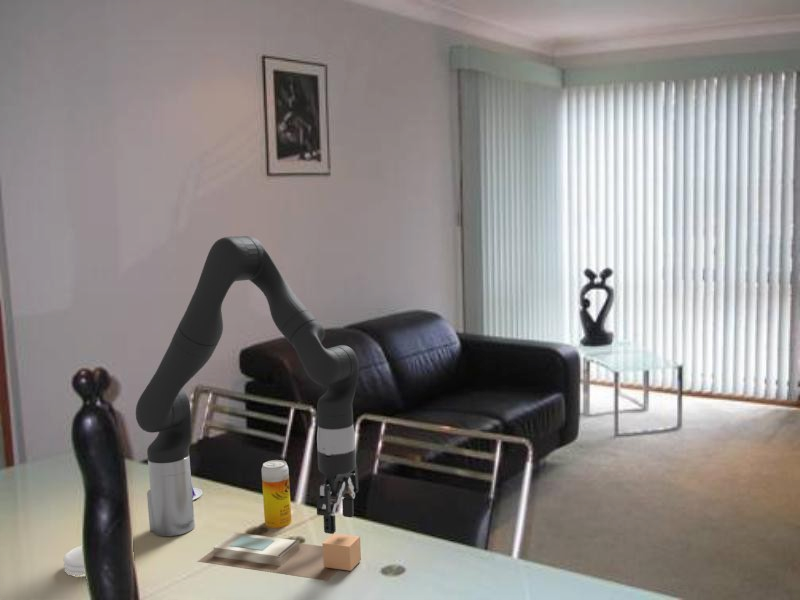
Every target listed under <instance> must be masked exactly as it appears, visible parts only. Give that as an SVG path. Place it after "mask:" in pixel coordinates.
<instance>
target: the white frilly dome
mask: <svg viewBox="0 0 800 600" xmlns="http://www.w3.org/2000/svg"><path fill="white" fill-rule="evenodd" d="M82 546H83V545H80V546H77V547H74V548H72V549H71V550H69V551H68V552H67V553H66V554H64V557H63V567H64V573H65V572H66V573H67V574H69V575H75V576H78V575H79V576H80V575H83V574H85V572H84V565H83V556H82ZM66 573H65V574H66ZM67 574H66V575H67ZM69 575H68V576H69Z"/></svg>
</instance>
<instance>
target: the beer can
mask: <svg viewBox="0 0 800 600" xmlns="http://www.w3.org/2000/svg"><path fill="white" fill-rule="evenodd" d="M289 471H290V470H289V466H288V464H287V462H286V461H285V460H282V459H280V460H279V459H274V460H273V459H272V460H268V461H266V462H263V463H262V467H261V486H262V497H263V498H262V499H263V514H264V515H263V516H264V525H265V526H266V527H267V528H273V529H278V528H283V527H284V528H285V527H286V526H288V525H290V524H291V523H292V509H291V508H292V505H291V493H290V492H291V490H290V475H289V473H290V472H289Z"/></svg>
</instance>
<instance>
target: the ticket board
mask: <svg viewBox="0 0 800 600" xmlns="http://www.w3.org/2000/svg"><path fill="white" fill-rule="evenodd" d="M212 548H213V549H212V550H211V551H210V552H208V553H207V554H206V555H204V556H203V557H201V558H200V559H199V560H197V562H199V563H207V564H213V565H218V566H219V565H220V566H226V567H233V568H239V569H248V570H253V571H261V572H267V573H275V574H280V575H281V574H282V575H286V576H287V575H289V576H295V577H302V578H308V579H315V580H321V581H329V579H330V578H331V577H332V576H333V575H335V574H336V573H337V571H339V569H335V568H328V567H324V563H323V545H316V544H310V543H309V544H307V543H303V542H302V543H300V541H299V540H297V539H287V538H281V537H273V536H264V535H258V534H257V535H256V534H251V533H249V534H248V533H243V532H233V533H231V534H230V535H229V536H227V537H226V538H224V539H223V540H221V541H220V542H219V543H217V544H216V545H214V546H213V547H212Z"/></svg>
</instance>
